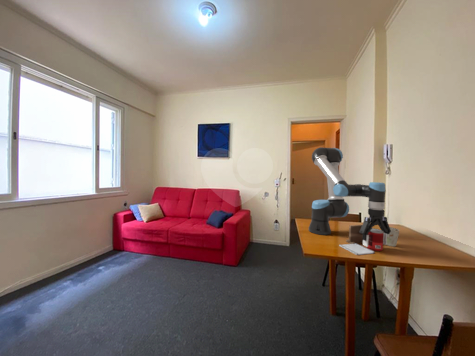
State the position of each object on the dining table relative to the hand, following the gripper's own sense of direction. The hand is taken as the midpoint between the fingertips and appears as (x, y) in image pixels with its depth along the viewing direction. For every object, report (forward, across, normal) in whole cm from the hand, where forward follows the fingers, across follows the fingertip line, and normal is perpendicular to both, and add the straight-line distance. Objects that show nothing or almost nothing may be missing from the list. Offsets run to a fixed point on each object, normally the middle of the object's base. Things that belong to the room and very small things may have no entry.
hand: (374, 245), depth 104 cm
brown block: (+2, -1, +10) cm, 10 cm away
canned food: (+2, 0, 0) cm, 2 cm away
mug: (+2, +14, +4) cm, 15 cm away
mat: (+2, -12, +1) cm, 12 cm away
